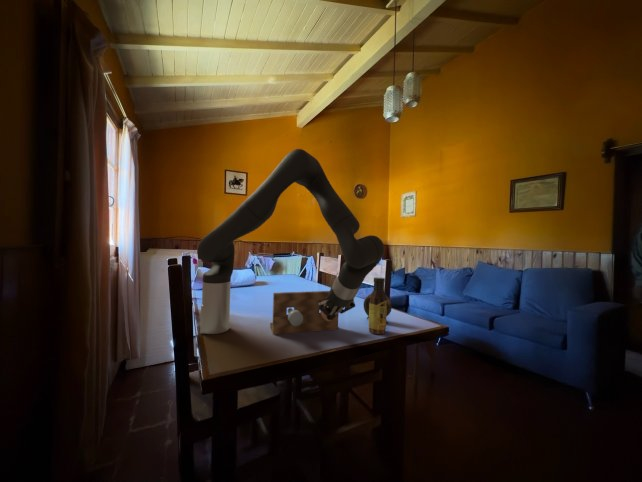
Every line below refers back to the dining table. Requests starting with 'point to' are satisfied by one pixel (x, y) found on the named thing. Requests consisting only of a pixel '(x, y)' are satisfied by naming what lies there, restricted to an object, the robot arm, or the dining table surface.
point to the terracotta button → (324, 315)
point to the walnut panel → (306, 306)
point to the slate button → (295, 317)
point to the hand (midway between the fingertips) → (329, 317)
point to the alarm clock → (367, 303)
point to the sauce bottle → (378, 307)
